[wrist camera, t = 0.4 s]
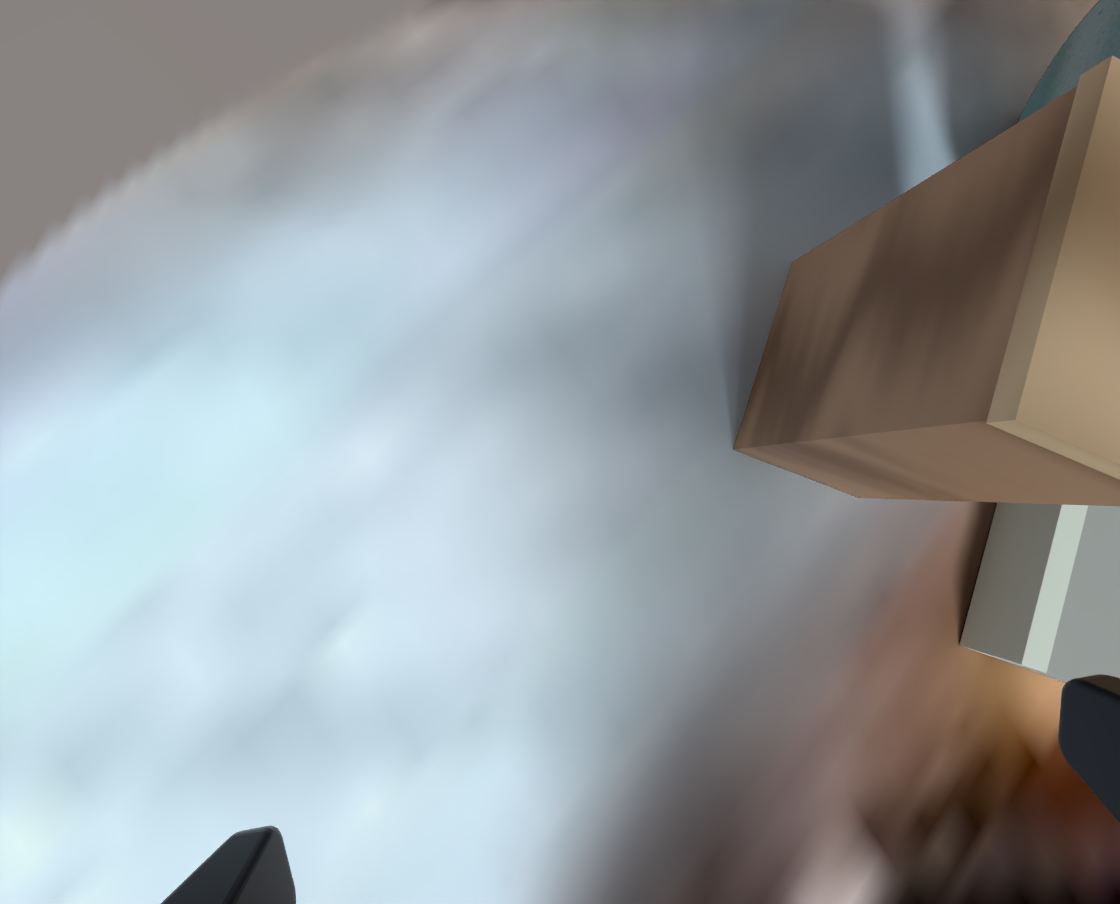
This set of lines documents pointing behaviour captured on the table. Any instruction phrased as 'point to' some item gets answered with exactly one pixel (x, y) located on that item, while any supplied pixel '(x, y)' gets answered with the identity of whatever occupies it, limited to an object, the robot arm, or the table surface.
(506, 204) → the table surface
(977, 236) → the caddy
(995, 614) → the bay
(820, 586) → the table surface
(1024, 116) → the flower pot
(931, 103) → the table surface
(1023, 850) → the table surface
